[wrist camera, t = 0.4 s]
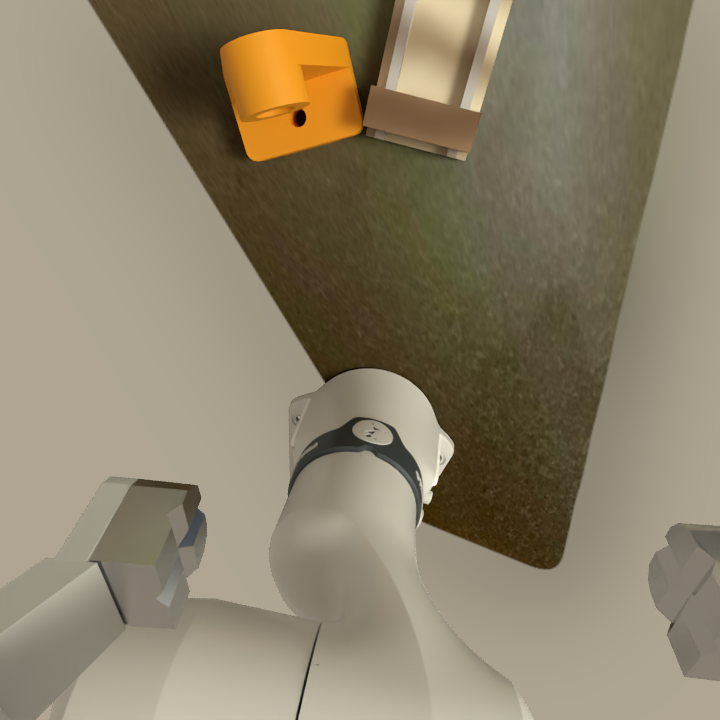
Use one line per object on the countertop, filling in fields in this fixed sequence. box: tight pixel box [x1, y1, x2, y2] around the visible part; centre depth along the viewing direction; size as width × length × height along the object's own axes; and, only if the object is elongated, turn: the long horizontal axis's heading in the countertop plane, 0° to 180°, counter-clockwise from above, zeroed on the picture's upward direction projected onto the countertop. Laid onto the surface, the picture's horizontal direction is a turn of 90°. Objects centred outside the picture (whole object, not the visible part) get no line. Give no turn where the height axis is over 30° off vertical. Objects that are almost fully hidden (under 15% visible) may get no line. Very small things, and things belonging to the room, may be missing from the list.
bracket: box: [220, 29, 364, 161], centre depth 42 cm, size 11×7×12 cm, turn 104°
